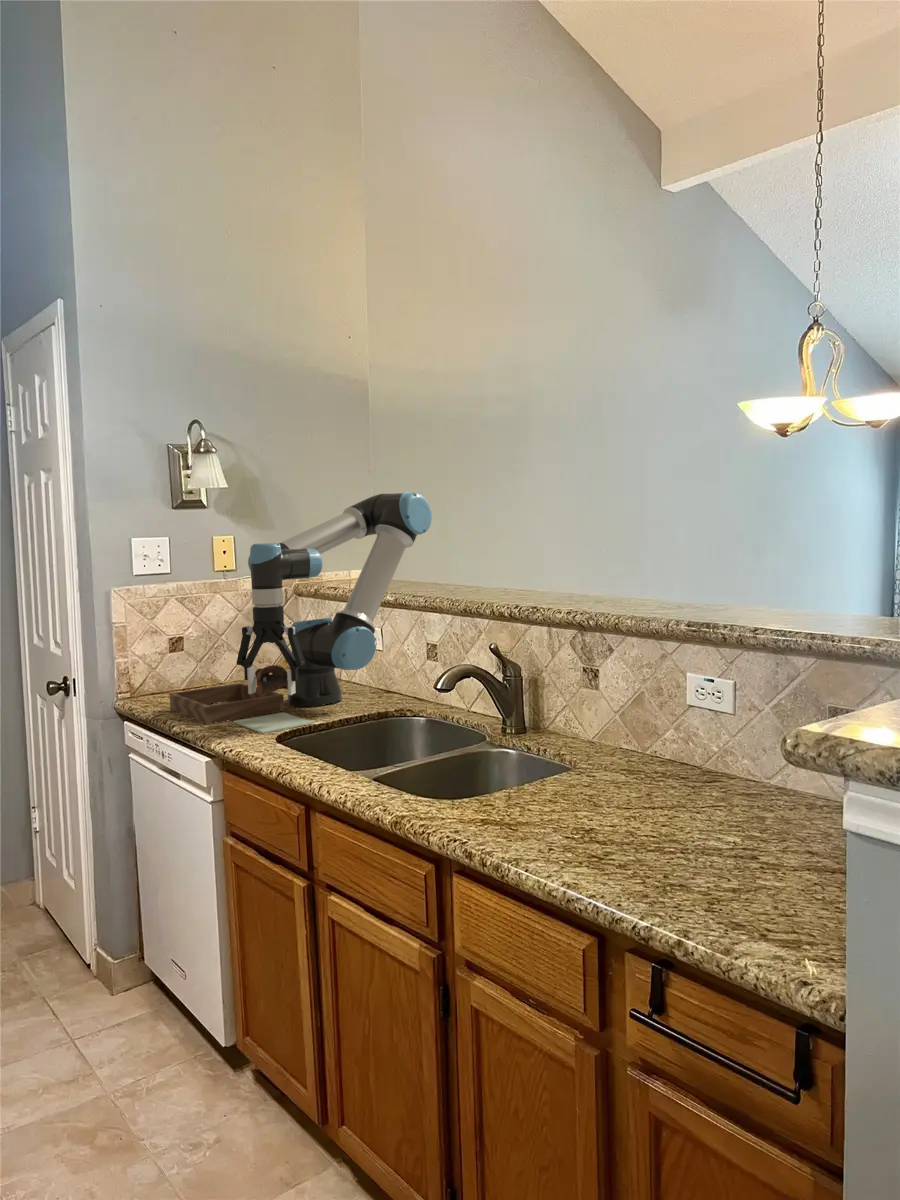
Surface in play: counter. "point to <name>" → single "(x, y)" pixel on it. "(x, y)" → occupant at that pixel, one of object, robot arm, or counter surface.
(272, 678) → the pottery mug
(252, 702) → the walnut crate
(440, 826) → the counter surface
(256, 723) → the cutting board
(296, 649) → the robot arm
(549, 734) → the counter surface
